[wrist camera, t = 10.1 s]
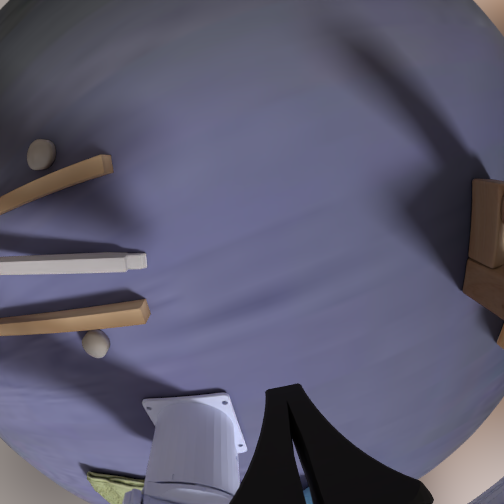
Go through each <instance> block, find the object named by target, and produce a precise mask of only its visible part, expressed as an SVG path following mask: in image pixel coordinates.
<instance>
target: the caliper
mask: <svg viewBox="0 0 504 504" xmlns="http://www.w3.org/2000/svg"><path fill="white" fill-rule="evenodd" d="M143 268H147V259H146V253H129V254H128V253H124V252H102V253H78V254H55V255H32V256H9V257H0V275H25V274H74V273H108V272H126V271H127V270H128V269H143Z"/></svg>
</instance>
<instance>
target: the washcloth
mask: <svg viewBox="0 0 504 504" xmlns="http://www.w3.org/2000/svg"><path fill="white" fill-rule="evenodd" d="M87 480H88V481H89V482H90V483H91V485H92V486H93V488H94V490H95V491H96V492H98V493H99V494H100V495H101V496H102V497H104V498H105V499H106V501H108V502H109V503H111V504H122V502H123V498H124V495H125V493H126V492H128V491H131V490H132V489H138V490H141V491H142V489H143V487H144V482H145V480H142V479H133V478H126V477H121V476H114V475H105V474H98V473H94V472H90V471H89V472H87Z"/></svg>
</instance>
